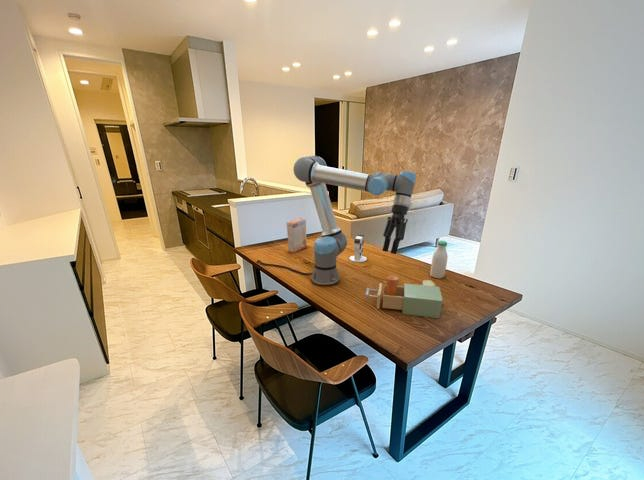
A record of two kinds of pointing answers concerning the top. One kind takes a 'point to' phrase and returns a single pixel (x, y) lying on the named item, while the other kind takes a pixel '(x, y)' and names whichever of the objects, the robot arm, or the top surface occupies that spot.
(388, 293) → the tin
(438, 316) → the cabinet
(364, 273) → the top surface
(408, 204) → the robot arm
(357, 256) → the white post on base
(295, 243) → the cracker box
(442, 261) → the milk bottle
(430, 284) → the stacked layers on plate
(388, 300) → the drawer
